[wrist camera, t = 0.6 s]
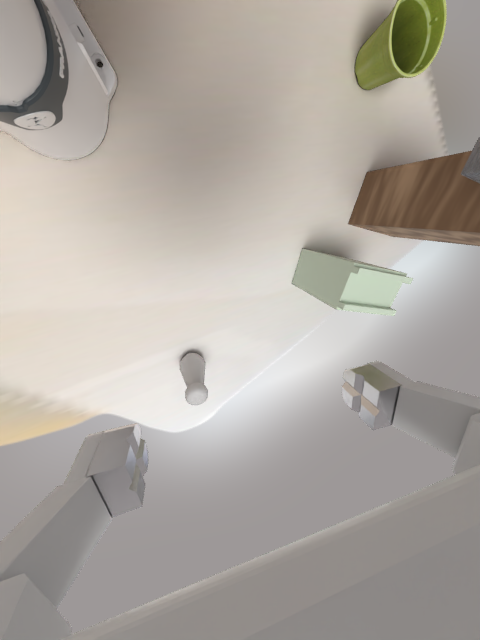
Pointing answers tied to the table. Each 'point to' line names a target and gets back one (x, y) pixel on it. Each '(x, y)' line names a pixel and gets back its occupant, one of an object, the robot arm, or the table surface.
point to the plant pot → (402, 43)
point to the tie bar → (473, 164)
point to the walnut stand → (421, 201)
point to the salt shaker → (194, 378)
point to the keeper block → (348, 282)
